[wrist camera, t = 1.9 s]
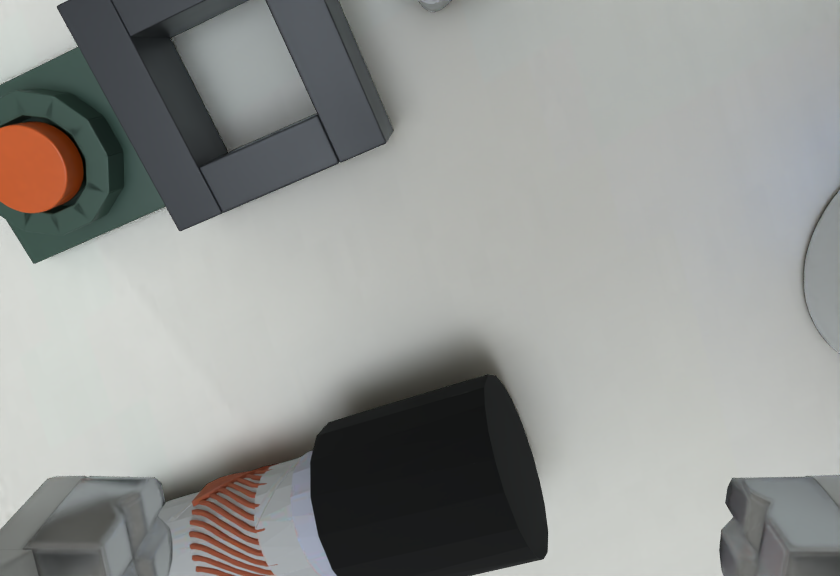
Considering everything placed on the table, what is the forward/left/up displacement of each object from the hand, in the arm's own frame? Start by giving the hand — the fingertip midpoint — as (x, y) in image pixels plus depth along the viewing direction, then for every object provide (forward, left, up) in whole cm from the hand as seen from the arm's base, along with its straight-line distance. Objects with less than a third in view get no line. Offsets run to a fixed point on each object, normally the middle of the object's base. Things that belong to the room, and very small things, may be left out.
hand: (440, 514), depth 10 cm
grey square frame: (+8, -9, -30) cm, 32 cm away
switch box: (+19, -9, -30) cm, 37 cm away
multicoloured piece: (+19, +15, -30) cm, 39 cm away
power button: (+19, -9, -27) cm, 34 cm away
